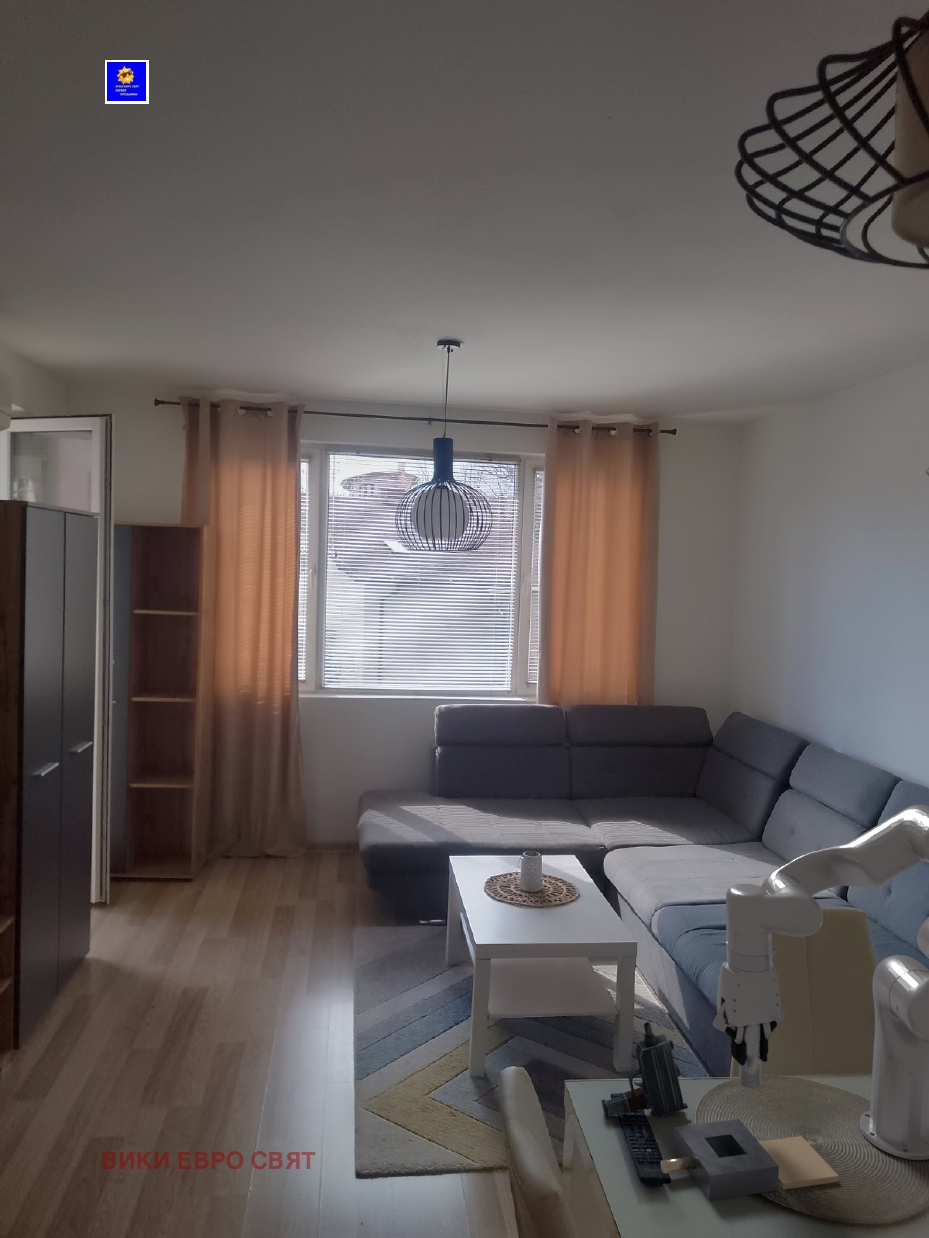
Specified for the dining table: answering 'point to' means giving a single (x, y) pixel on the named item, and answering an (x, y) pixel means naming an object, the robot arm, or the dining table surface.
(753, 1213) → the dining table surface
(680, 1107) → the gun
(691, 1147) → the block
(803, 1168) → the pad
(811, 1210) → the dining table surface
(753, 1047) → the silver metal rod
